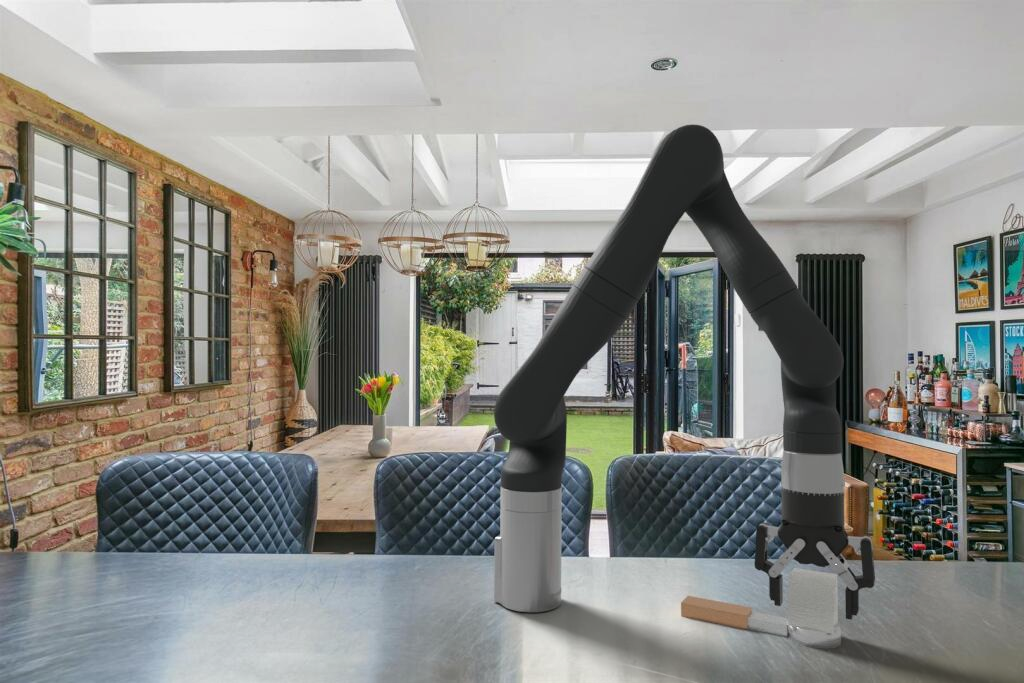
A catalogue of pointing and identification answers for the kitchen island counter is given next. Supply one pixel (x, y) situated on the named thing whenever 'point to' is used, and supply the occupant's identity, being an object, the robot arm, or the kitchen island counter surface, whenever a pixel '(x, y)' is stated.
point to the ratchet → (756, 622)
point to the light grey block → (813, 600)
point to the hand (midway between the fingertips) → (813, 610)
